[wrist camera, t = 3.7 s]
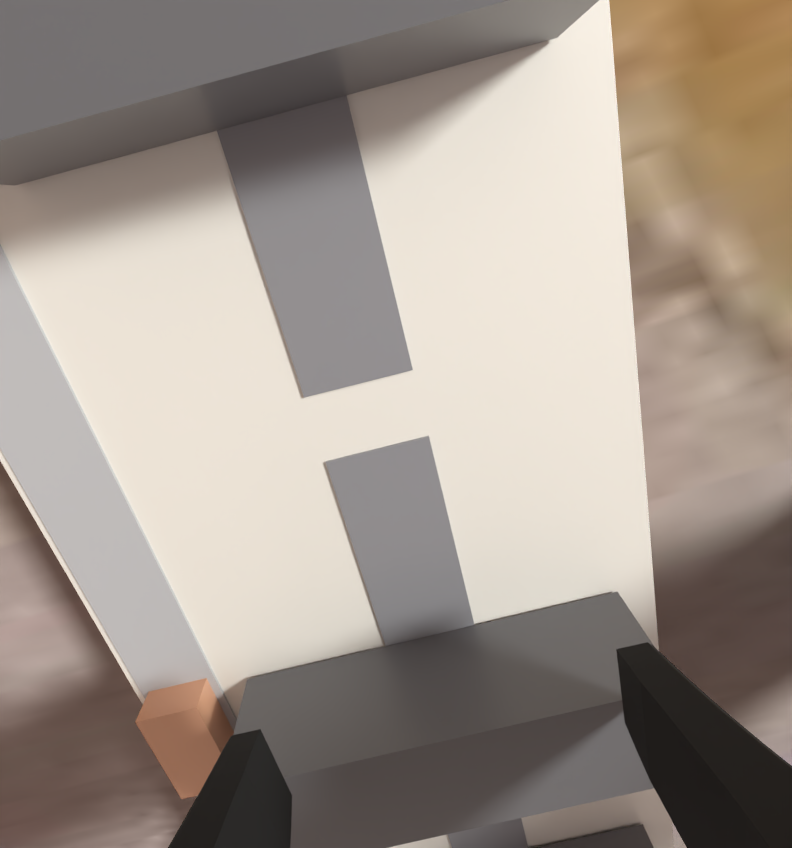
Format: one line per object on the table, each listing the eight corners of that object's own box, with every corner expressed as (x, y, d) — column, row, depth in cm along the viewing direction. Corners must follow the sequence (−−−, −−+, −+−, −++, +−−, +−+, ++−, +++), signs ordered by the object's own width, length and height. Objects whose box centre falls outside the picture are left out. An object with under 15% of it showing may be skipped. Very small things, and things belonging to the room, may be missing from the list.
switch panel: (540, -234, 10) (613, -415, 7) (649, 833, 21) (693, 928, 18) (-189, -23, 10) (-398, -112, 7) (305, 909, 22) (297, 1012, 19)
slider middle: (617, 591, 14) (681, 686, 11) (626, 675, 15) (687, 781, 12) (247, 679, 14) (219, 791, 11) (282, 754, 15) (264, 874, 13)
